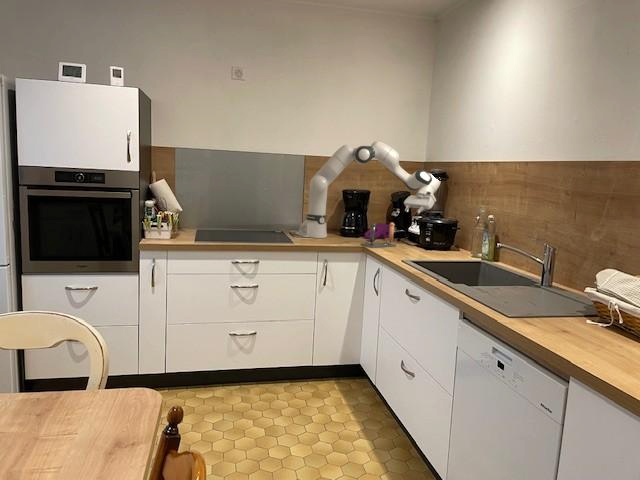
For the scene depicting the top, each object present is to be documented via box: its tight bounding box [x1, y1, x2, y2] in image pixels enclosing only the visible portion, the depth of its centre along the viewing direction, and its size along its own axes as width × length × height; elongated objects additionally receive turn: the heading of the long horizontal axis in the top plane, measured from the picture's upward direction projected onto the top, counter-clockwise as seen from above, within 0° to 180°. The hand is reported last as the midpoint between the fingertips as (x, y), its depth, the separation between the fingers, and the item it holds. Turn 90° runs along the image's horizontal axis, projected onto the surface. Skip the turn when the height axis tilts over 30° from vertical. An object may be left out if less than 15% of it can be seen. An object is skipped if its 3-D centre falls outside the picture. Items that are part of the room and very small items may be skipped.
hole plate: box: [360, 239, 397, 249], centre depth 281 cm, size 10×19×2 cm, turn 128°
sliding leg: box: [384, 222, 395, 243], centre depth 286 cm, size 6×3×12 cm, turn 38°
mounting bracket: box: [364, 222, 390, 240], centre depth 314 cm, size 9×8×18 cm
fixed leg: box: [365, 222, 377, 244], centre depth 276 cm, size 6×3×12 cm, turn 37°
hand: (411, 211), depth 293 cm, fingers open, 8 cm apart
